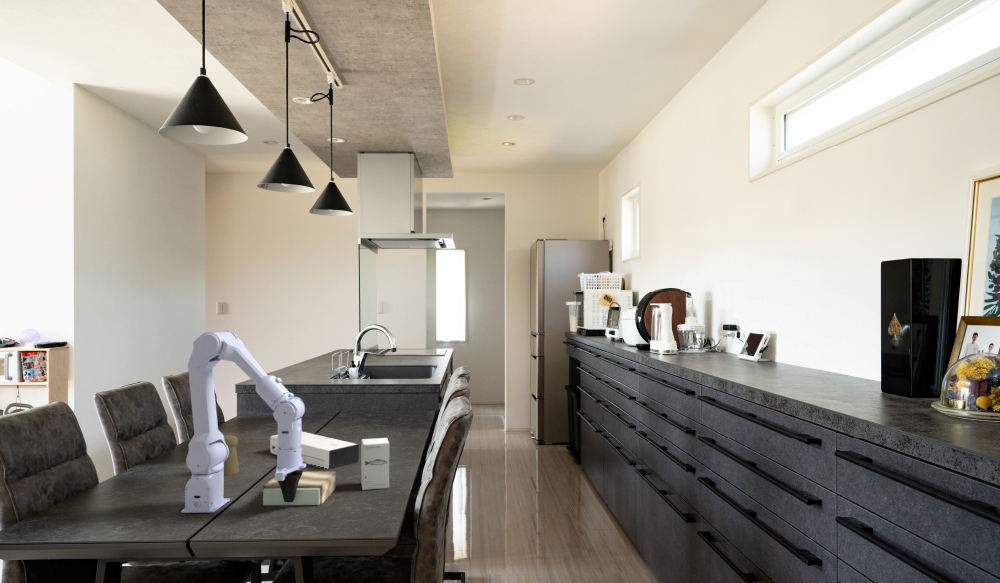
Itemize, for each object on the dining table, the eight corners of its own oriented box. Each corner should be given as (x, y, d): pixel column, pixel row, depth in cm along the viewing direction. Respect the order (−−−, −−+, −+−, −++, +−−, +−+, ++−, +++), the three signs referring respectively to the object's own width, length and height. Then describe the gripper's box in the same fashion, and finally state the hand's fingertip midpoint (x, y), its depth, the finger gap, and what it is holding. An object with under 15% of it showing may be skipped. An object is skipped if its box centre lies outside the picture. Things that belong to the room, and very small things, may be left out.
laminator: (358, 463, 193) (358, 444, 193) (326, 471, 183) (326, 451, 183) (298, 447, 214) (298, 430, 214) (266, 454, 205) (266, 436, 205)
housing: (322, 503, 153) (322, 485, 153) (263, 503, 153) (263, 485, 153) (335, 488, 166) (335, 471, 166) (281, 488, 165) (281, 471, 165)
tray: (318, 504, 151) (318, 489, 151) (263, 505, 151) (263, 489, 151) (332, 489, 164) (332, 474, 164) (281, 489, 164) (281, 475, 164)
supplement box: (362, 490, 163) (362, 444, 163) (360, 483, 170) (361, 438, 171) (389, 488, 165) (389, 442, 165) (387, 481, 172) (387, 436, 172)
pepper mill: (230, 476, 178) (231, 438, 178) (212, 474, 179) (213, 437, 179) (243, 470, 183) (243, 434, 184) (225, 469, 185) (226, 433, 185)
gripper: (296, 454, 143) (295, 511, 143) (314, 440, 158) (313, 492, 157) (266, 454, 143) (266, 511, 143) (287, 440, 158) (287, 492, 157)
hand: (289, 501), depth 150 cm, fingers closed
